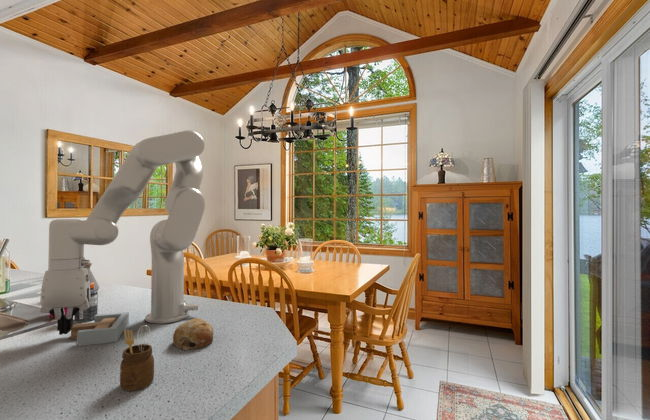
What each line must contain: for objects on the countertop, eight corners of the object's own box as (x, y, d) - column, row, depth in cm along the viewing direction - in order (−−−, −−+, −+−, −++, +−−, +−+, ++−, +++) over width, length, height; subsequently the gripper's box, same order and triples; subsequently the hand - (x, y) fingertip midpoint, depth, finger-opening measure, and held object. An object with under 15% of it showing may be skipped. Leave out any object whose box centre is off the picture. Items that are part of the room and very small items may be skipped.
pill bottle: (76, 317, 106) (76, 282, 106) (98, 315, 108) (99, 280, 108) (72, 323, 100) (72, 286, 100) (96, 320, 103) (96, 284, 103)
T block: (78, 331, 94) (78, 320, 94) (115, 327, 97) (115, 317, 97) (66, 343, 86) (66, 331, 86) (107, 338, 89) (107, 327, 89)
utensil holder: (159, 376, 69) (160, 319, 69) (142, 393, 63) (142, 330, 63) (132, 376, 69) (132, 318, 69) (111, 392, 63) (112, 329, 63)
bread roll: (170, 363, 83) (168, 339, 80) (177, 332, 92) (175, 310, 89) (212, 359, 85) (211, 336, 82) (214, 329, 94) (214, 307, 91)
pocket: (128, 323, 101) (128, 312, 101) (115, 341, 87) (115, 328, 87) (95, 326, 98) (96, 314, 98) (77, 346, 84) (77, 332, 84)
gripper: (102, 261, 95) (101, 325, 95) (39, 263, 90) (37, 330, 90) (94, 265, 88) (93, 334, 88) (24, 268, 83) (23, 341, 83)
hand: (65, 332), depth 89 cm, fingers closed
